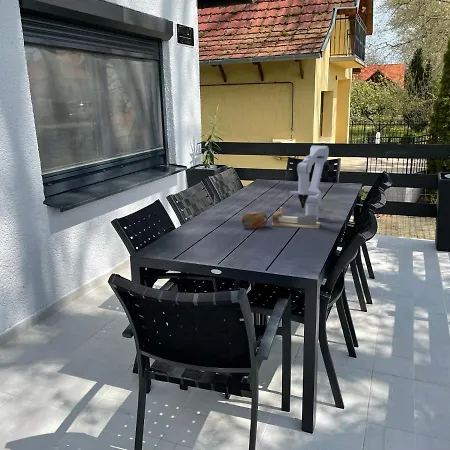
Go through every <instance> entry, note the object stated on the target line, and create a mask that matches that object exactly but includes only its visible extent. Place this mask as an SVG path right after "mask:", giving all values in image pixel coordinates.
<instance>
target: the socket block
mask: <svg viewBox="0 0 450 450" xmlns="http://www.w3.org/2000/svg"><path fill="white" fill-rule="evenodd" d="M278 216H280V211H274V212H273V214H272V222H273V224H278V223H279V221H278Z"/></svg>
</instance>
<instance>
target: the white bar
mask: <svg viewBox="0 0 450 450" xmlns="http://www.w3.org/2000/svg"><path fill="white" fill-rule="evenodd" d="M279 212H280V216H278V221H282V222H298V216H288V215H287V216H286V215H284V214H283V213H284V206H280V207H279Z"/></svg>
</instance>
